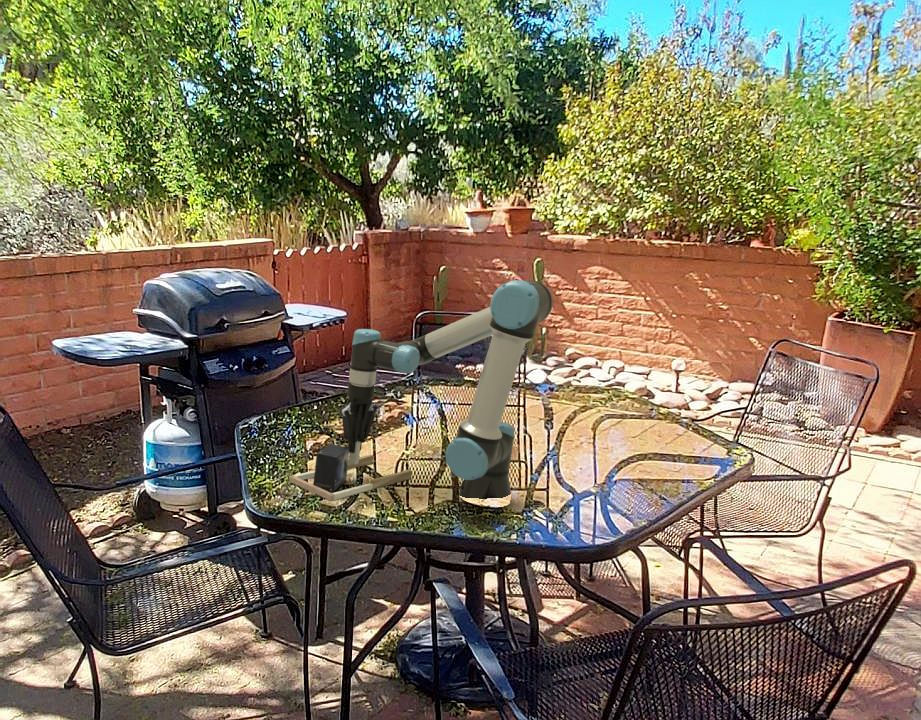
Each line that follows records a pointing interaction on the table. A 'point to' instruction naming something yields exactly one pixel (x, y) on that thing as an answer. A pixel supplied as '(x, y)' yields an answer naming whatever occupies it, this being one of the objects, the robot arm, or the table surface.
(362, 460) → the wooden rail pair
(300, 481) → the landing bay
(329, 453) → the small box
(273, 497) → the table surface
